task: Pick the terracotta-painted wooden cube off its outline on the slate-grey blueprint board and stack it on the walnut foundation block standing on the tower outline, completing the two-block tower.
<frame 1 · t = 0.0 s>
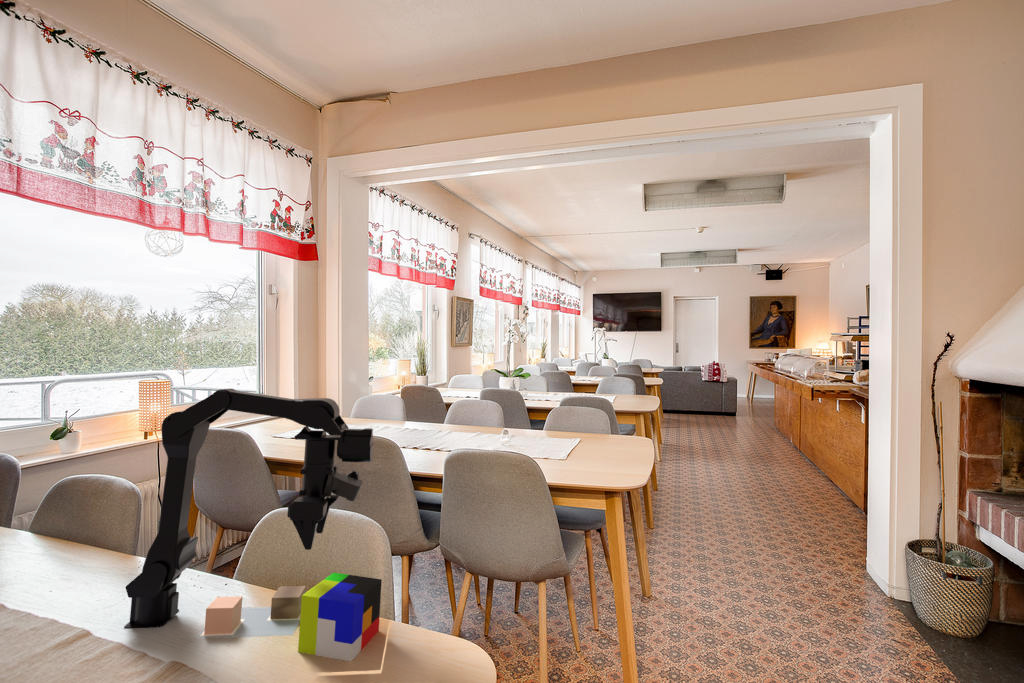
hand: (314, 540, 99), 15 cm above the table, fingers open, 9 cm apart
walnut foundation: (287, 612, 98), resting on blueprint board
blueprint board: (255, 623, 95), on the table
puzzle toy: (339, 645, 89), on the table
terracotta block: (222, 627, 92), resting on blueprint board
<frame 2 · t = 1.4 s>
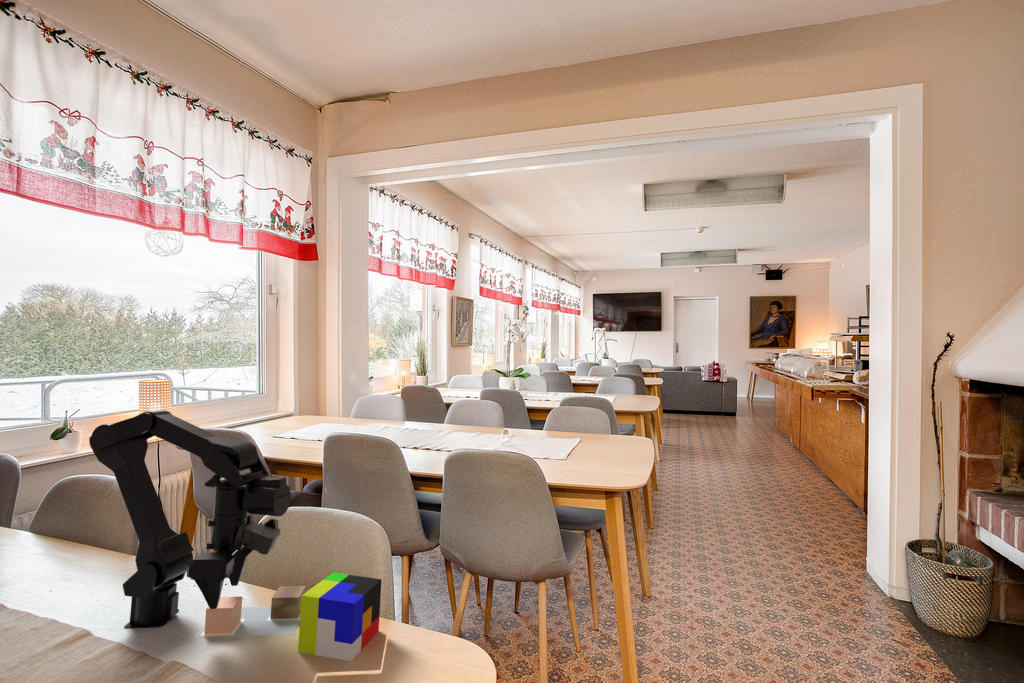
hand: (224, 596, 92), 6 cm above the table, fingers open, 9 cm apart
nothing on the table moved.
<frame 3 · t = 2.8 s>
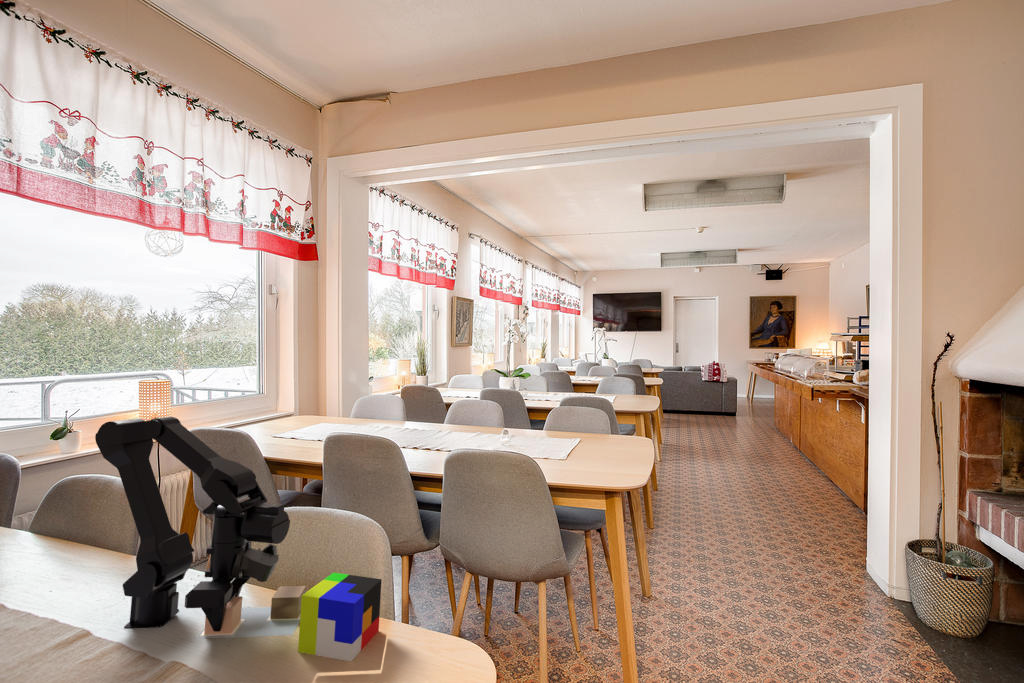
hand: (223, 624, 92), 1 cm above the table, fingers closed on terracotta block, 4 cm apart
terracotta block: (222, 627, 92), resting on blueprint board, touching gripper
everything else where it was.
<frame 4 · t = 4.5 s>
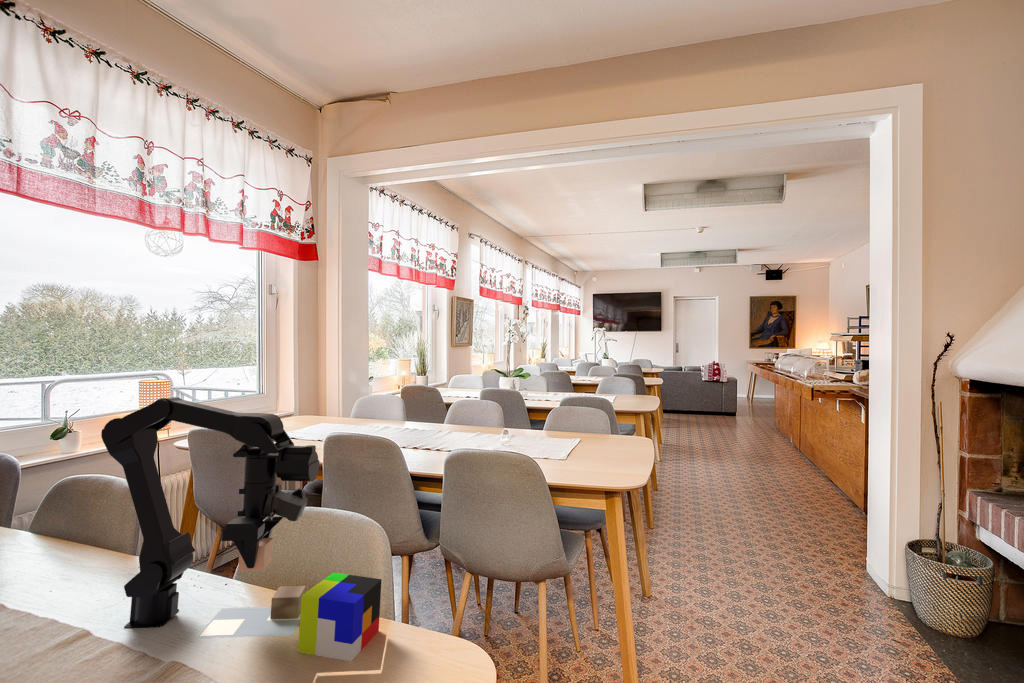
hand: (255, 562, 95), 11 cm above the table, fingers closed on terracotta block, 4 cm apart
terracotta block: (255, 566, 95), point 11 cm above the table, touching gripper
everything else where it was.
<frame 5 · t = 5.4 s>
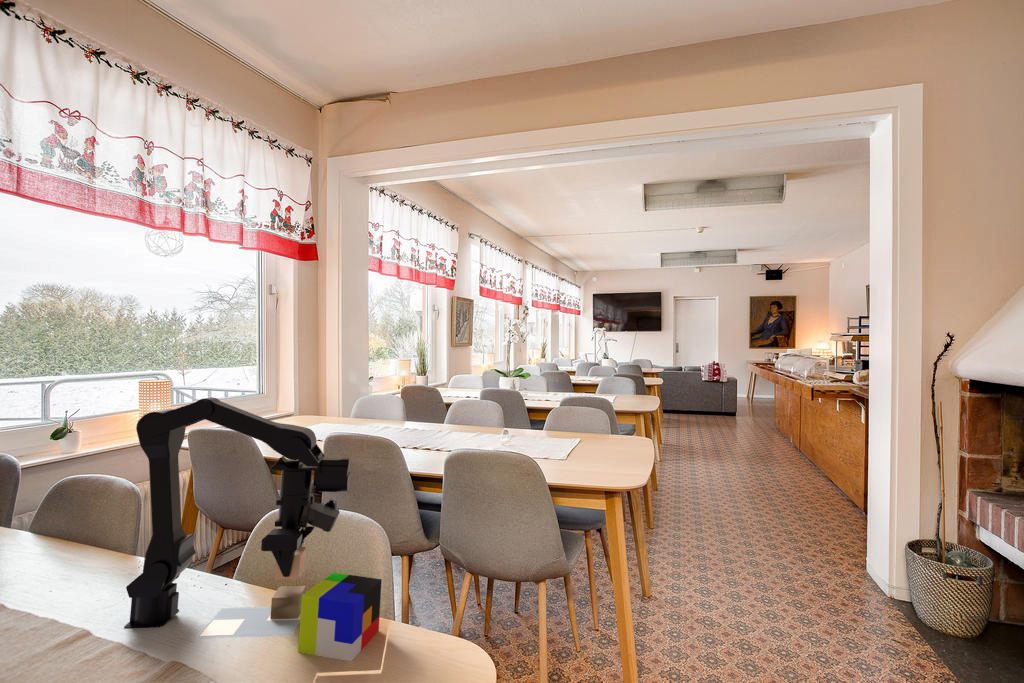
hand: (290, 571, 99), 8 cm above the table, fingers closed on terracotta block, 4 cm apart
terracotta block: (290, 574, 99), point 8 cm above the table, touching gripper
everything else where it was.
when the fingers open (6 cm above the table, at t = 6.1 s): terracotta block drops 1 cm, resting on walnut foundation.
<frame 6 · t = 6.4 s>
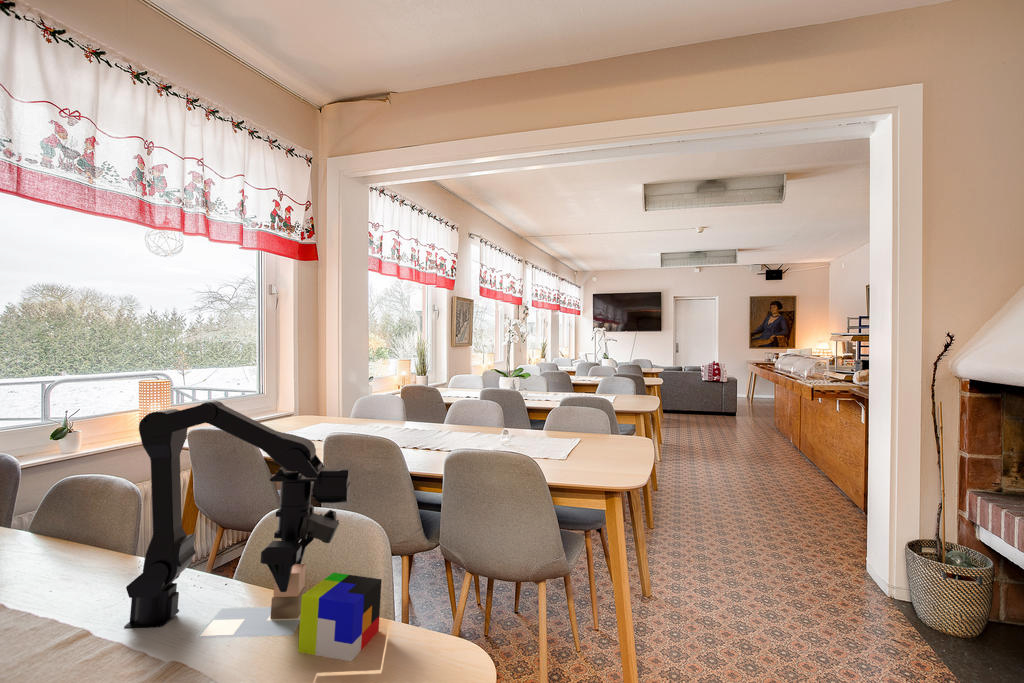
hand: (289, 582, 99), 6 cm above the table, fingers open, 8 cm apart
walnut foundation: (287, 612, 98), resting on blueprint board, touching terracotta block
terracotta block: (289, 591, 98), point 4 cm above the table, touching walnut foundation
everything else where it was.
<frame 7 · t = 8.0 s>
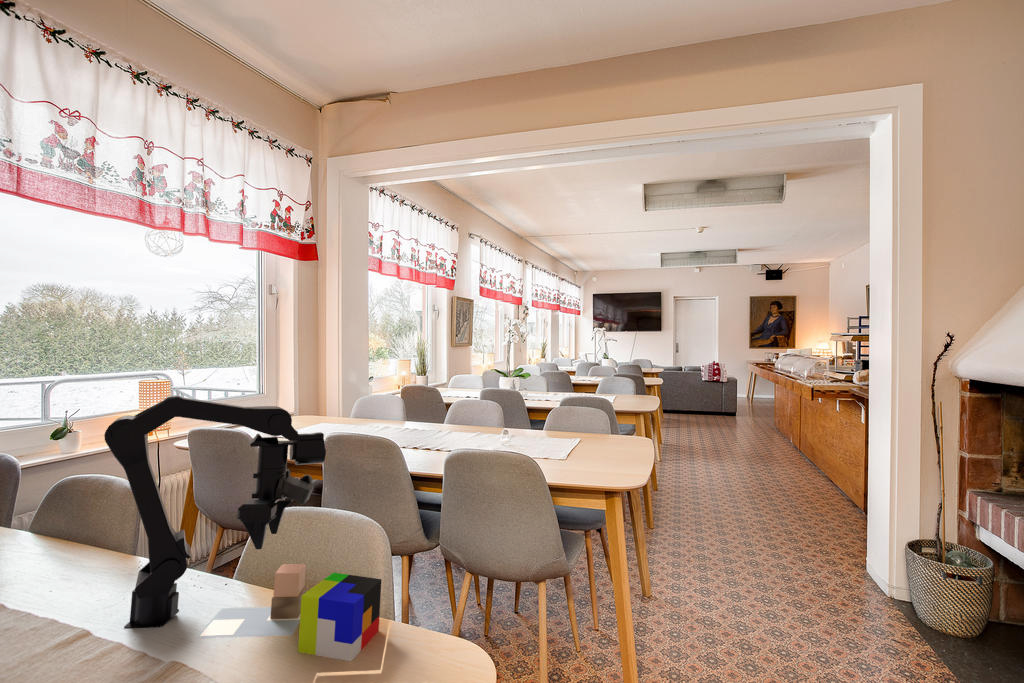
hand: (266, 541, 105), 12 cm above the table, fingers open, 9 cm apart
nothing on the table moved.
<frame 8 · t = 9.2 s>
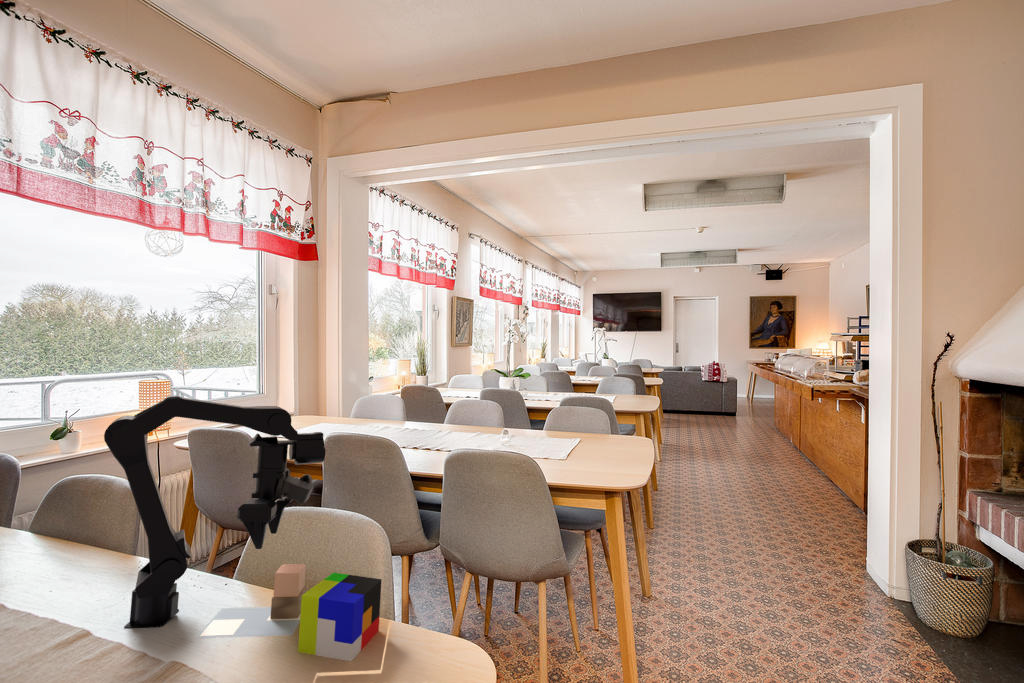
hand: (266, 540, 105), 12 cm above the table, fingers open, 9 cm apart
nothing on the table moved.
at the end: terracotta block 0.0 cm off-centre on the walnut foundation, point 4.0 cm above the walnut foundation's base; terracotta block tilted 0°; the gripper is holding nothing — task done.
